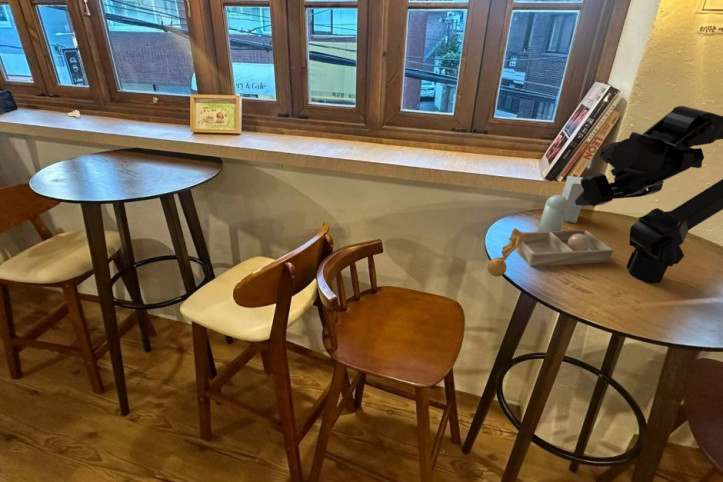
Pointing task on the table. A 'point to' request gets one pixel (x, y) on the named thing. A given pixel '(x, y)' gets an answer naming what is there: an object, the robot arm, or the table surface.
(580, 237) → the brown egg
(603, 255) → the caddy
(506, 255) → the figurine
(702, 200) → the robot arm
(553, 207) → the pale blue pillar
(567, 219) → the skincare box
